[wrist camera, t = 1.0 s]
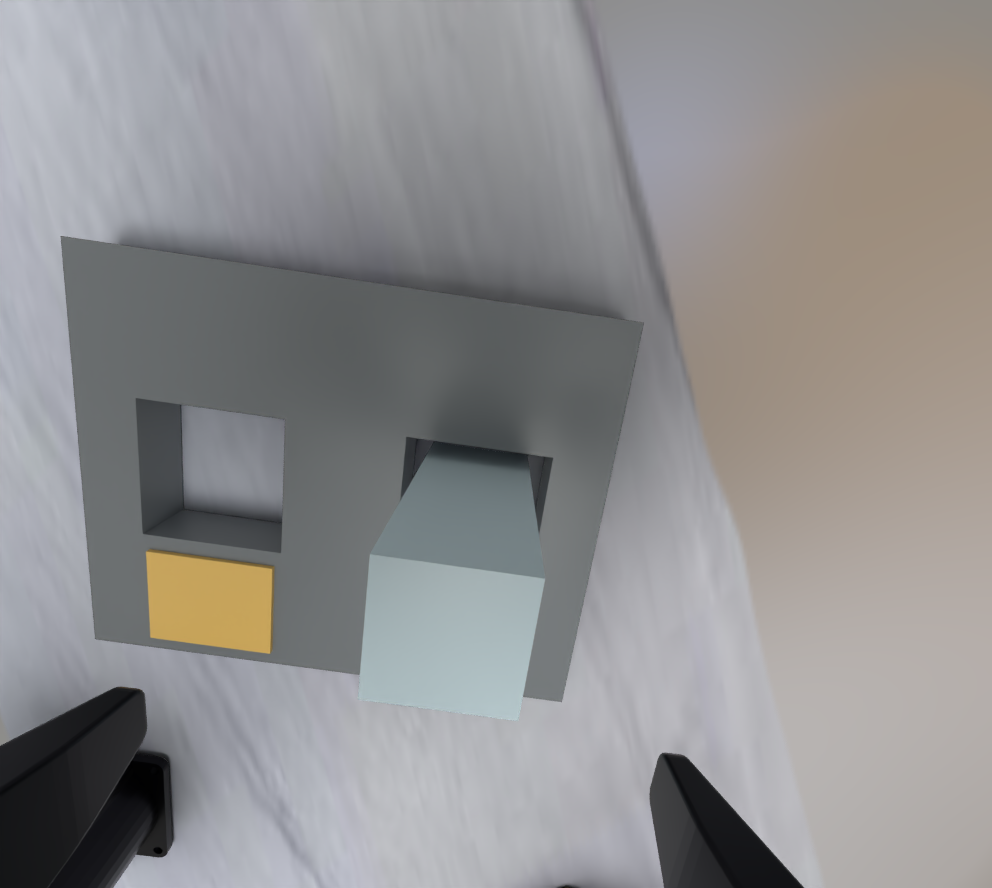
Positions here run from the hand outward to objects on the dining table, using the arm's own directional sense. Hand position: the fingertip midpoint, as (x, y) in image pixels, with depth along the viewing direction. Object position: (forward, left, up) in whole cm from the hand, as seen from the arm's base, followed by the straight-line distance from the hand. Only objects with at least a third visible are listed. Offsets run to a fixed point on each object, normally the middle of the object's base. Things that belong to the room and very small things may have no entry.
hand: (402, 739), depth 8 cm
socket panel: (0, +5, -13) cm, 14 cm away
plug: (0, 0, -13) cm, 13 cm away
